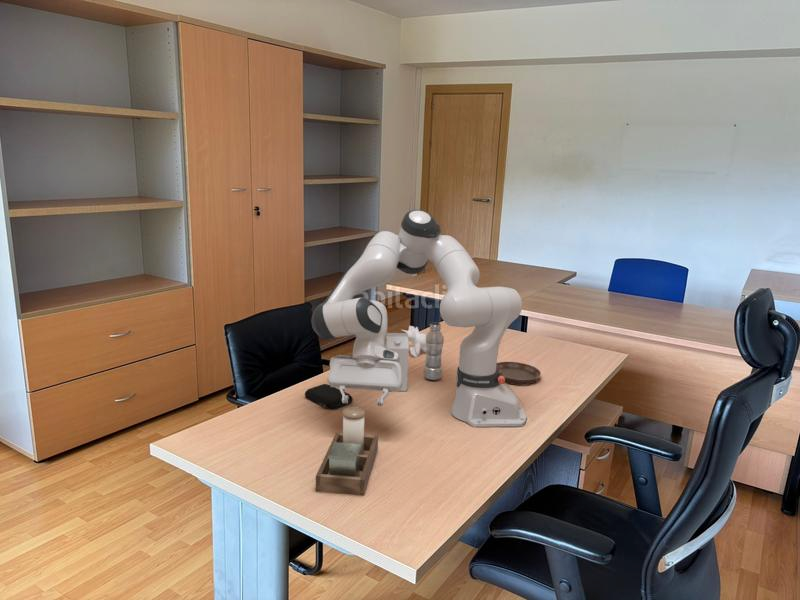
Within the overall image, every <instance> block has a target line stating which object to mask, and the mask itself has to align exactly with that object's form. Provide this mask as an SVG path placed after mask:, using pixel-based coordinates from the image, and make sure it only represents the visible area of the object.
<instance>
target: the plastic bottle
mask: <svg viewBox="0 0 800 600" xmlns="http://www.w3.org/2000/svg"><path fill="white" fill-rule="evenodd" d="M441 326H442V325H441V323H440V322H431V323H429V330H430V331H429V332H428V333H427V334H426V335H427V336H426V353H425V354H426V357H425V365H424V368H423V376H424V378H425V379H426V380H429V381H439V380H440V379H441V377H443V376H442V375H443V366H442V365H443V364H442V355H443V347H444V342H445V338H444V335H443V333H442V332H441V329H442V328H441Z"/></svg>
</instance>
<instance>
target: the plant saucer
mask: <svg viewBox="0 0 800 600" xmlns="http://www.w3.org/2000/svg"><path fill="white" fill-rule="evenodd" d="M496 369H497V370H498V371H499V370H500V371H501V373H502V374H503V377H504V378H505V383H504V384H510V385H517V386H519V385H520V386H523V385H530V384H532V383H534V382H536V380H538V379H539V378H540V377H541V371H540V369H538V368H537V367H535V366H533V365H531V364H527V363H523V362H516V361H500V362H497V365H496Z"/></svg>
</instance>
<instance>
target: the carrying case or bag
mask: <svg viewBox="0 0 800 600" xmlns="http://www.w3.org/2000/svg"><path fill="white" fill-rule="evenodd" d="M343 392H344V391H343ZM344 394H345V395H348V397H349V399H348V404H347V405H349V404H351V402H352V401H353V400H354V398H353V396H352V395H351V394H350V393H348V392H346V391H345V392H344ZM304 396H305V398H307V399H309V400H311V401H313V402H315V403H317V404H318V405H319V407H324V408H327V409H329V410H335V409H338V408H341V407H344V406H346V403H342V394H341V392H340V389H339V388H336V387H331V386H330V385H329V383H323V384H320V385H319V384H318V385H317V386H314V387H311V388H308V389H306V391H304Z"/></svg>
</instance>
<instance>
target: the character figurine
mask: <svg viewBox="0 0 800 600" xmlns="http://www.w3.org/2000/svg"><path fill="white" fill-rule="evenodd" d="M401 331H402V332H404V333H408V342H411V344H412V346H410V347H409V352H410V354H411V355H412V356H413V357H414V358H417V357H418V356H419V355H420V352H421V351H423V353H425V354H427V353H426V336H427V334H426V333H424V332H421V333H420V331H419V327H418V326H416V327H415V326H413V325H409V326H408V330H404V329H401Z"/></svg>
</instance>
